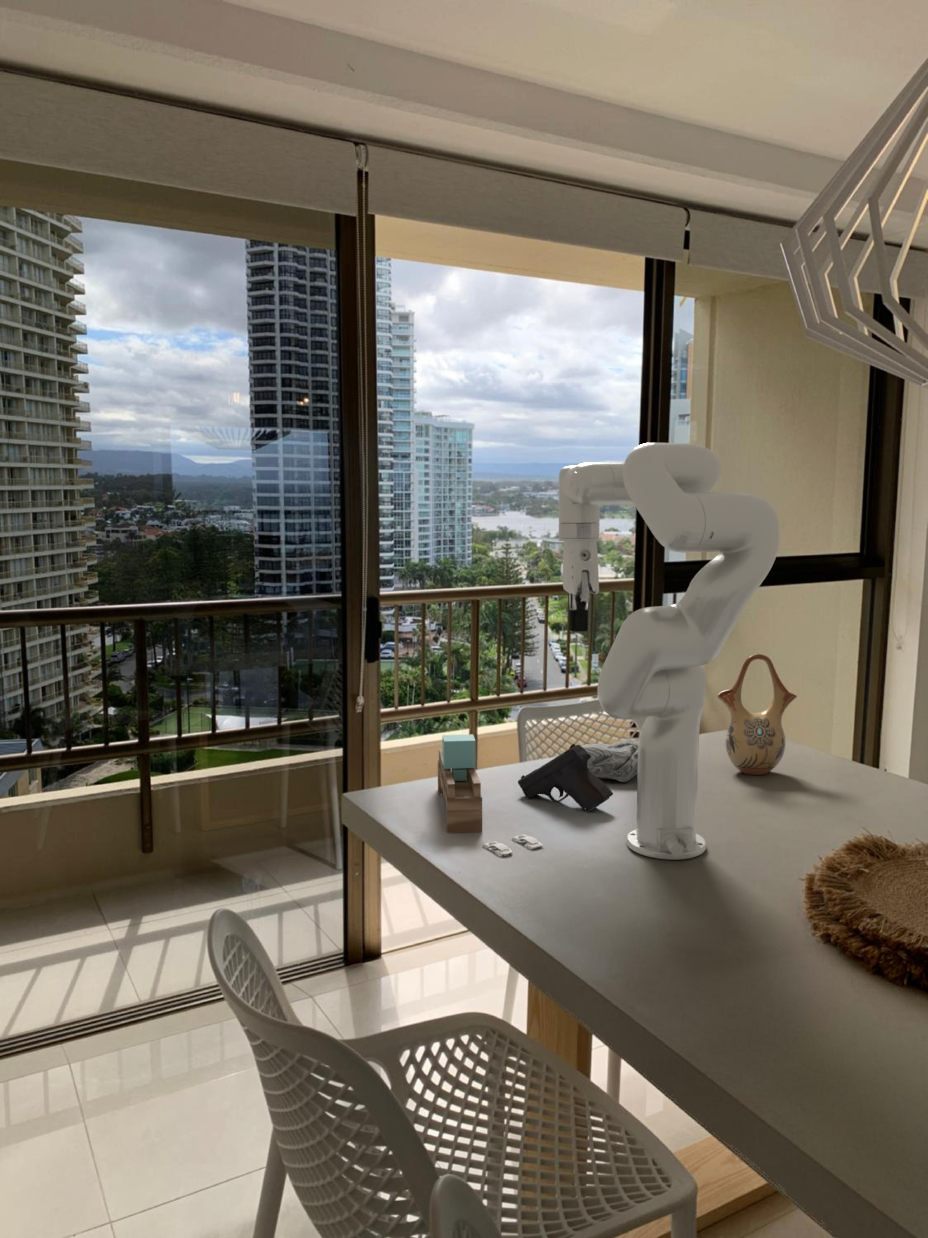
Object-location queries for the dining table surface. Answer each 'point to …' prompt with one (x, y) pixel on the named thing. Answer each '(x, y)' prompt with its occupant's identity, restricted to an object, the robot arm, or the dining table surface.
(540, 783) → the handgun
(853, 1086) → the dining table surface
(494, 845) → the white curved pieces
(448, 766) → the teal rectangular block
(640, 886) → the dining table surface
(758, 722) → the ceramic vessel
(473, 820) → the beam
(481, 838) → the dining table surface
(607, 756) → the decorative stone
